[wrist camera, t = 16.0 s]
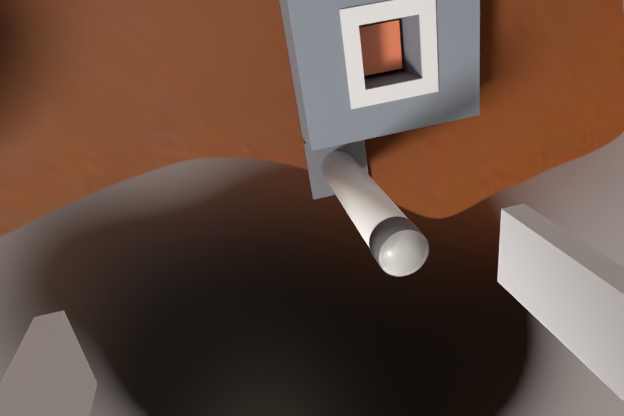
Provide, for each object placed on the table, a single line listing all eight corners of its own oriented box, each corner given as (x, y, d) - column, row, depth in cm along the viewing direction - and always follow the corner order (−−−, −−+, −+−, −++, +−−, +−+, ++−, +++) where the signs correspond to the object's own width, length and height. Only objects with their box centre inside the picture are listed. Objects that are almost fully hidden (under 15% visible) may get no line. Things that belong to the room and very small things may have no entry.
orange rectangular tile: (355, 75, 44) (358, 76, 42) (349, 27, 42) (353, 28, 41) (397, 66, 44) (402, 68, 43) (394, 19, 42) (399, 20, 41)
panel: (302, 137, 45) (311, 151, 41) (275, -22, 39) (283, -25, 35) (456, 105, 47) (480, 115, 43) (453, -52, 41) (481, -58, 37)
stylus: (323, 186, 47) (380, 281, 31) (318, 153, 46) (375, 236, 29) (356, 179, 47) (430, 269, 31) (352, 146, 46) (427, 223, 30)
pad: (312, 197, 48) (313, 199, 47) (303, 142, 45) (304, 143, 45) (368, 185, 49) (369, 186, 48) (362, 129, 46) (363, 131, 45)
